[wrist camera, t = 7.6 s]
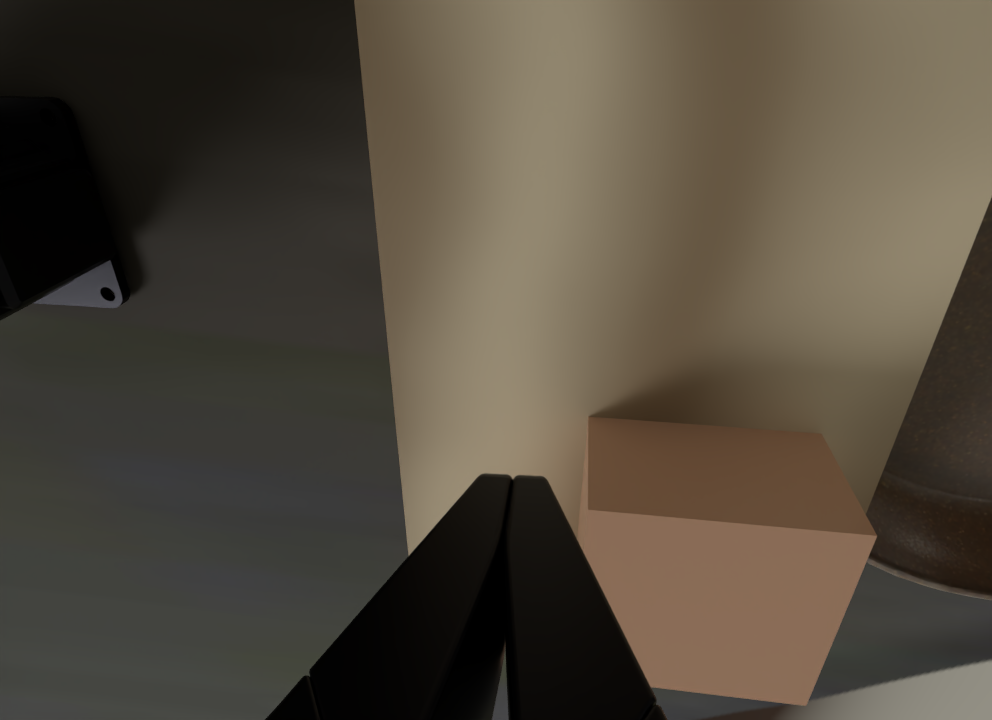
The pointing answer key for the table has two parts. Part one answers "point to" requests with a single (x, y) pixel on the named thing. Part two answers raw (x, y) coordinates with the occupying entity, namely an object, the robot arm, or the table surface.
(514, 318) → the beige elongated piece
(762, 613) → the tan clay block
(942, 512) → the plant saucer
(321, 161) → the table surface
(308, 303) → the table surface
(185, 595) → the table surface
